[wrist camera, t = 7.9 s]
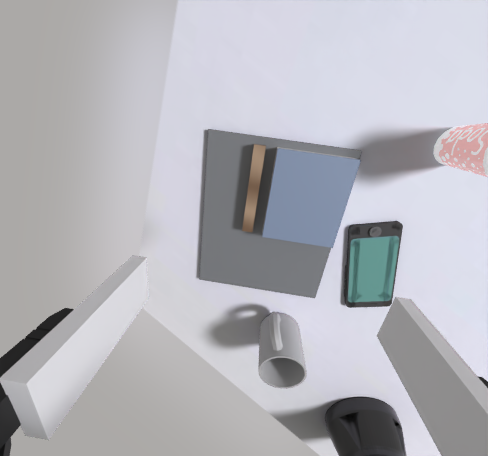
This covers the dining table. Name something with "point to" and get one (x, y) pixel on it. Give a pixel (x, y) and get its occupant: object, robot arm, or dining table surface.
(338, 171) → the blue-grey flat block
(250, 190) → the strip
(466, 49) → the dining table surface
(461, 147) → the beverage cup
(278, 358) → the cup
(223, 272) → the mat
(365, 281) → the smartphone
